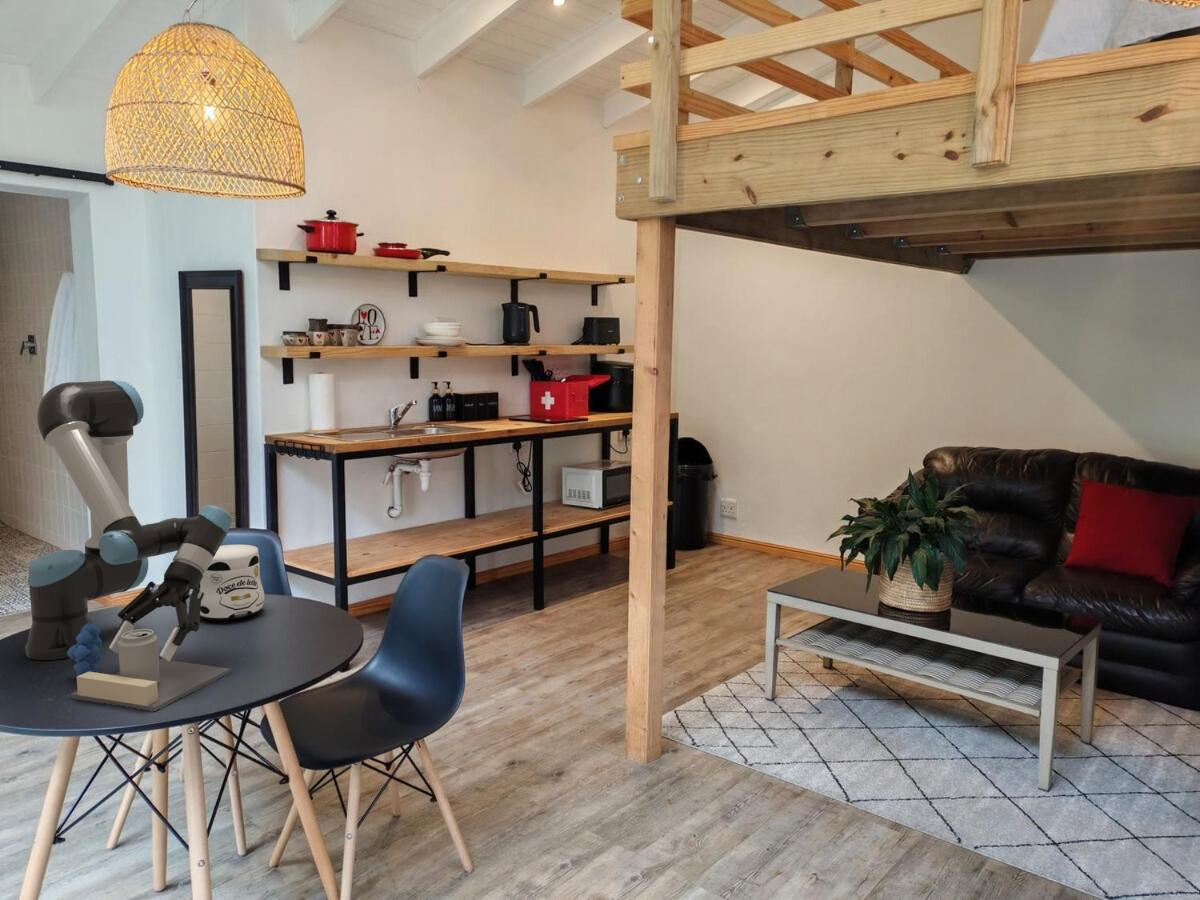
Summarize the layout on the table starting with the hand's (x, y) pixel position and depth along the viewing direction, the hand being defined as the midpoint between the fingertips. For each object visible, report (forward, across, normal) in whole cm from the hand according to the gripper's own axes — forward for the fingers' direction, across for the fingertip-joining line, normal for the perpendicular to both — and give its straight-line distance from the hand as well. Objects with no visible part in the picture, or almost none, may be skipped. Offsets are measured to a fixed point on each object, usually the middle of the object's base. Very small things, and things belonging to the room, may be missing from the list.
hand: (138, 654), depth 187 cm
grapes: (+4, +18, -8) cm, 21 cm away
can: (+5, 0, -6) cm, 8 cm away
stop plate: (+3, 0, -9) cm, 9 cm away
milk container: (-28, +19, -42) cm, 54 cm away
